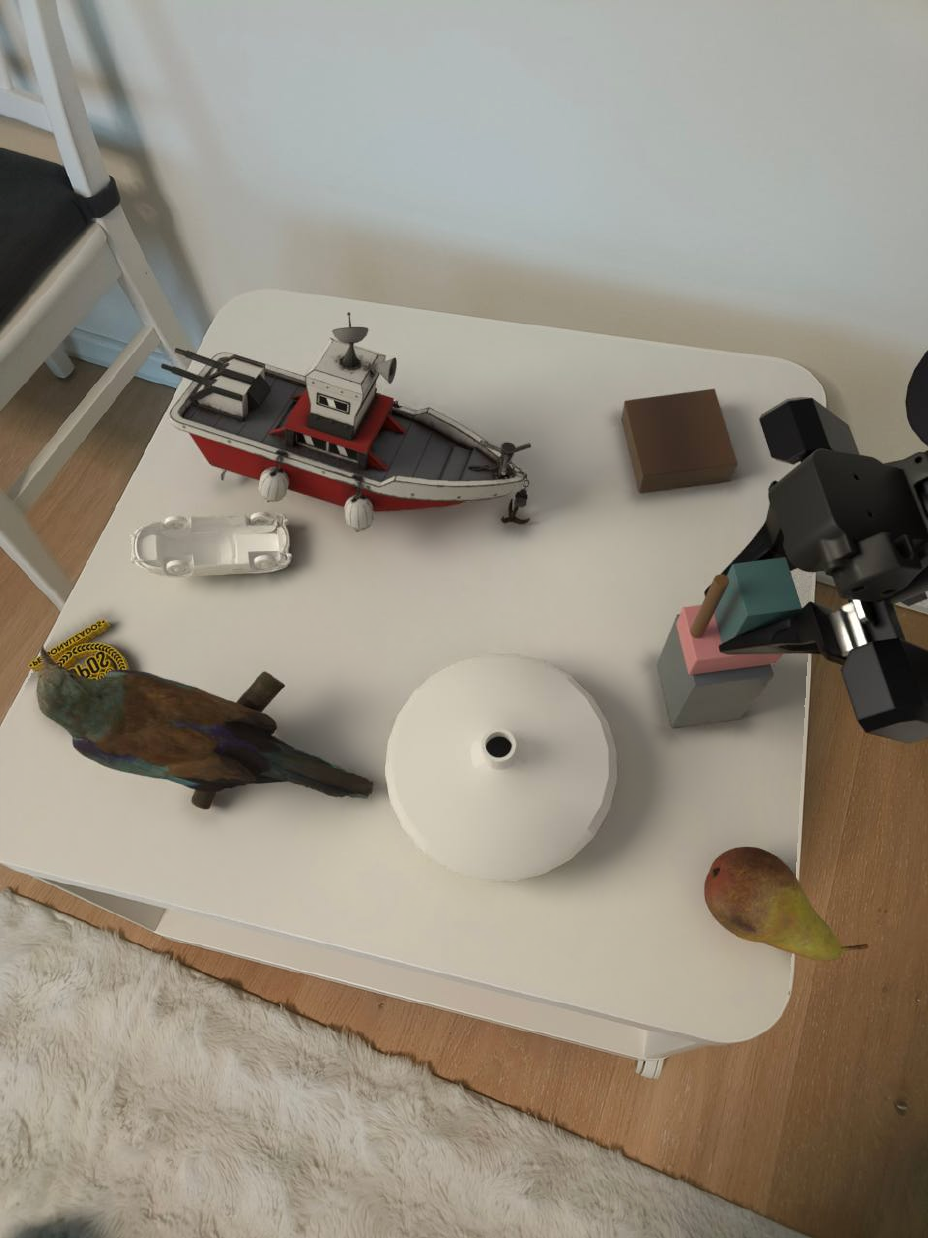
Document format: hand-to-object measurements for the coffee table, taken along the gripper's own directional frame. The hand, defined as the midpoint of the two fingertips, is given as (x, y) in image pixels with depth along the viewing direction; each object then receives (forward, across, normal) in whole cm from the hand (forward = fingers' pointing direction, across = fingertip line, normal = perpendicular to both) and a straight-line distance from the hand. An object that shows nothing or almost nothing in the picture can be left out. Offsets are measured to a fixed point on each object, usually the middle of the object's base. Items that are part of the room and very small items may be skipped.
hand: (715, 623), depth 50 cm
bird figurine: (+32, 0, -14) cm, 35 cm away
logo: (+41, -11, -24) cm, 49 cm away
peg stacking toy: (+2, 0, +4) cm, 4 cm away
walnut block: (+6, -21, +12) cm, 25 cm away
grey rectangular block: (+8, 0, +10) cm, 13 cm away
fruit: (+7, +13, +5) cm, 15 cm away
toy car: (+30, -16, -17) cm, 38 cm away
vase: (+19, +4, 0) cm, 19 cm away
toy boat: (+24, -22, -6) cm, 33 cm away
